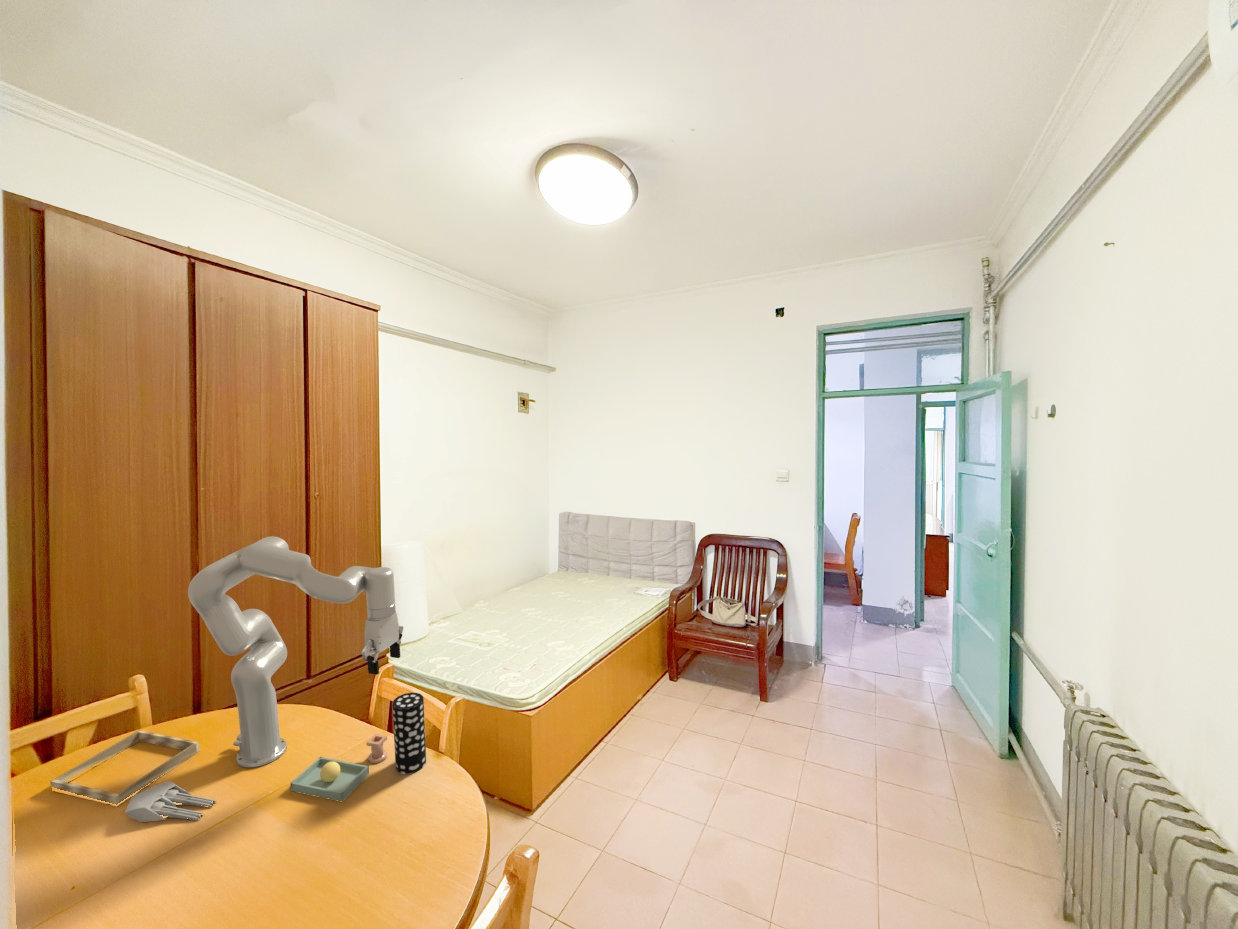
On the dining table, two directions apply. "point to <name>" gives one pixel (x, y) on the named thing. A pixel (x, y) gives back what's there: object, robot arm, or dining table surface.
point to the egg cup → (377, 748)
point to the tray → (333, 790)
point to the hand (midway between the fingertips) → (384, 665)
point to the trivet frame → (143, 736)
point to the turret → (164, 803)
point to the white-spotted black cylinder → (409, 733)
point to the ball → (330, 771)
